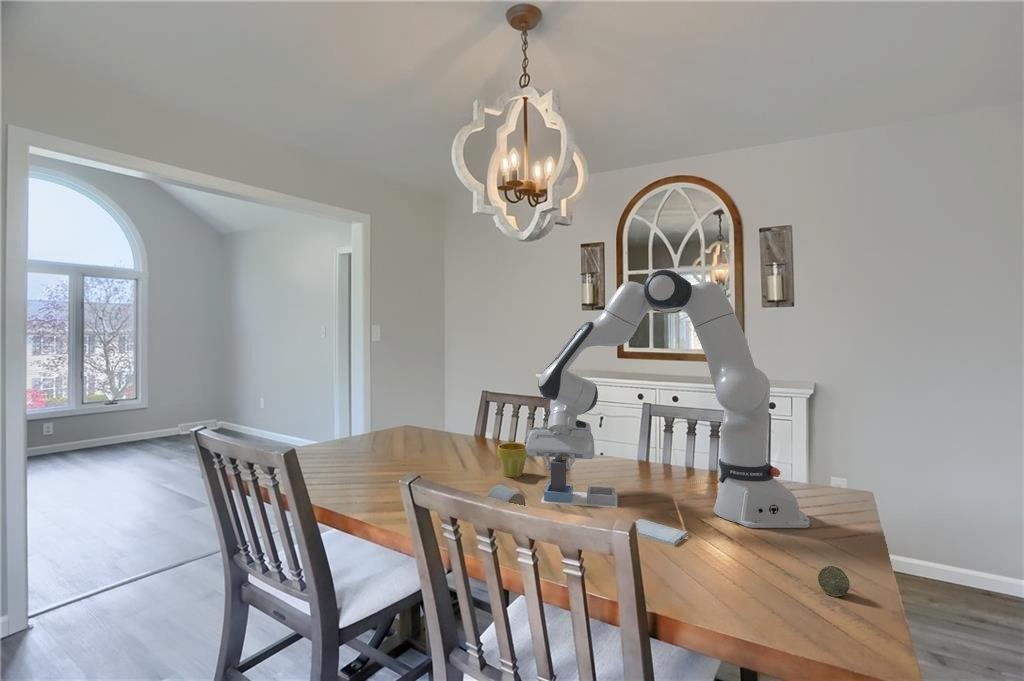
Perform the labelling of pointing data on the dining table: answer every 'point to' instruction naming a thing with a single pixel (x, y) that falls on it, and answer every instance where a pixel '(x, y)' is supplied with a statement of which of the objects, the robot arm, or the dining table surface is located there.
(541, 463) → the dining table surface
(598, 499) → the plate
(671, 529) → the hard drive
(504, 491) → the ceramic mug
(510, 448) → the plant pot
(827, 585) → the lime
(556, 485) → the plug
